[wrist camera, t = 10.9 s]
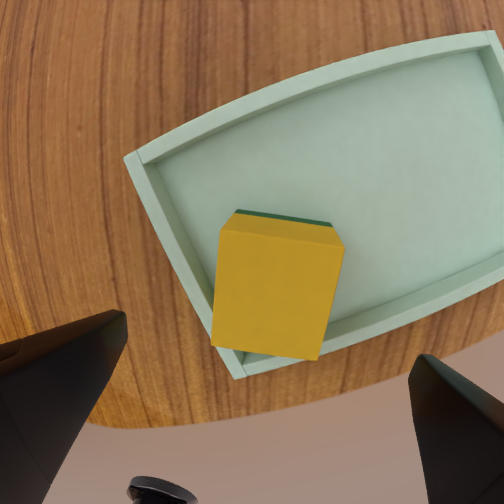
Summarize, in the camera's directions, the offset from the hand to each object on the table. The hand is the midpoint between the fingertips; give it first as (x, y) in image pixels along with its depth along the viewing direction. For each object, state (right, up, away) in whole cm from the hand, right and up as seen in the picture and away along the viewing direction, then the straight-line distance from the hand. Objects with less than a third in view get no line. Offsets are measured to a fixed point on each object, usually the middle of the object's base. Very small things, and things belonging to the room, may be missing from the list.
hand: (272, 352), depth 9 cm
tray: (+5, +5, +6) cm, 10 cm away
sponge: (+1, +2, +7) cm, 7 cm away
